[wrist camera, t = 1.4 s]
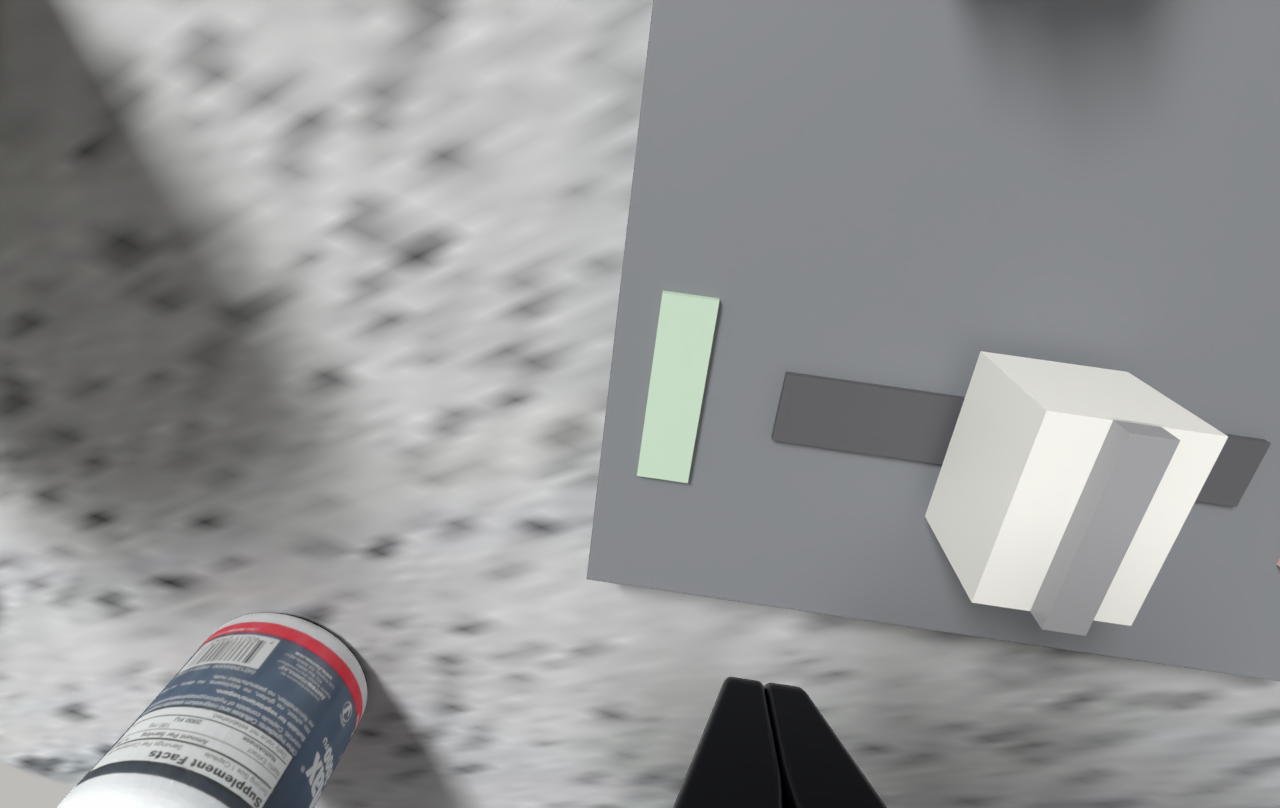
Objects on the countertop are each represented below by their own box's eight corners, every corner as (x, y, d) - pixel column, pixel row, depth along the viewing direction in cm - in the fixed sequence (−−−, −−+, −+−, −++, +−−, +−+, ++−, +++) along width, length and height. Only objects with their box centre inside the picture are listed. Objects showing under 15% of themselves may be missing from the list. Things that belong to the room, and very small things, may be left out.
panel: (2027, -630, 10) (2274, -764, 8) (1254, 642, 19) (1302, 689, 18) (749, -778, 10) (759, -933, 9) (594, 545, 20) (585, 584, 18)
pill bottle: (330, 759, 24) (139, 1106, 16) (184, 684, 23) (-98, 1010, 15) (401, 663, 22) (226, 1001, 14) (244, 577, 21) (-43, 884, 13)
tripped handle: (1128, 371, 15) (1249, 450, 11) (1057, 535, 16) (1146, 645, 13) (980, 351, 15) (1060, 423, 11) (924, 516, 16) (981, 620, 13)
